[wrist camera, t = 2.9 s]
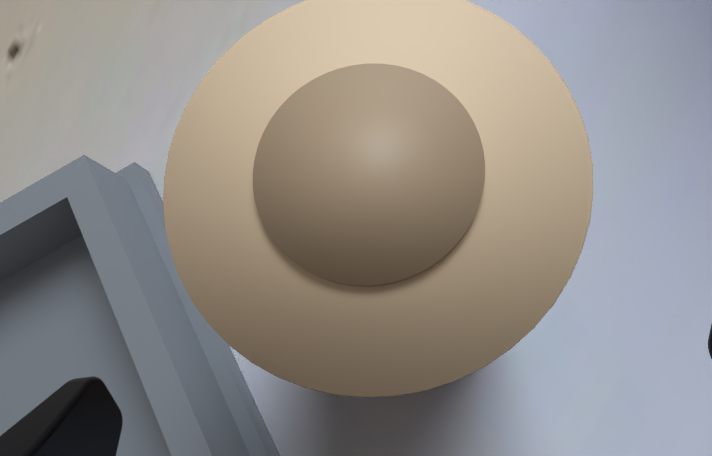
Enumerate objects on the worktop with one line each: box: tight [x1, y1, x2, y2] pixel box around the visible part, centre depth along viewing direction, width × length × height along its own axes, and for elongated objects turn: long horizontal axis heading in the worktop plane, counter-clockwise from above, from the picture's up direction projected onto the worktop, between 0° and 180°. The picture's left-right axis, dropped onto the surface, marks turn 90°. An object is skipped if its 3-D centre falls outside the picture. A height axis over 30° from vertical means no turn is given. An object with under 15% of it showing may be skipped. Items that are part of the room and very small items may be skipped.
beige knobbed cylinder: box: [163, 0, 593, 397], centre depth 13 cm, size 6×6×11 cm
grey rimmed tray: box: [0, 155, 280, 456], centre depth 17 cm, size 13×13×4 cm
